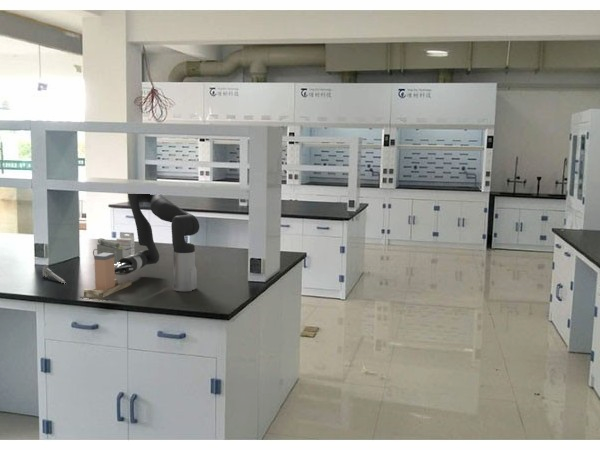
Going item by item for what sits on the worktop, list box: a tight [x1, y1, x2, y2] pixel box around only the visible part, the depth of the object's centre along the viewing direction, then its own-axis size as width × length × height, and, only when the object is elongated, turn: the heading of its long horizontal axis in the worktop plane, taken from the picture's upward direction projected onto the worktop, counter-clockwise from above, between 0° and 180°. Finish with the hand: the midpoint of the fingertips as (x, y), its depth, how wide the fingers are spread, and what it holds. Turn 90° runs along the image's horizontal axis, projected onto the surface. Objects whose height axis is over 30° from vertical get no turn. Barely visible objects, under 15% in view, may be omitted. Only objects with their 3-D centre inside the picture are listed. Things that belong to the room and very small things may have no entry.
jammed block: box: [93, 253, 116, 291], centre depth 256 cm, size 5×7×16 cm
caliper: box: [42, 264, 67, 285], centre depth 279 cm, size 20×1×6 cm, turn 49°
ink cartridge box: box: [116, 231, 135, 258], centre depth 328 cm, size 9×5×15 cm, turn 84°
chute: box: [79, 278, 133, 301], centre depth 259 cm, size 12×24×4 cm, turn 166°
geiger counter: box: [92, 237, 123, 264], centre depth 310 cm, size 14×6×25 cm
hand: (109, 271), depth 259 cm, fingers closed
